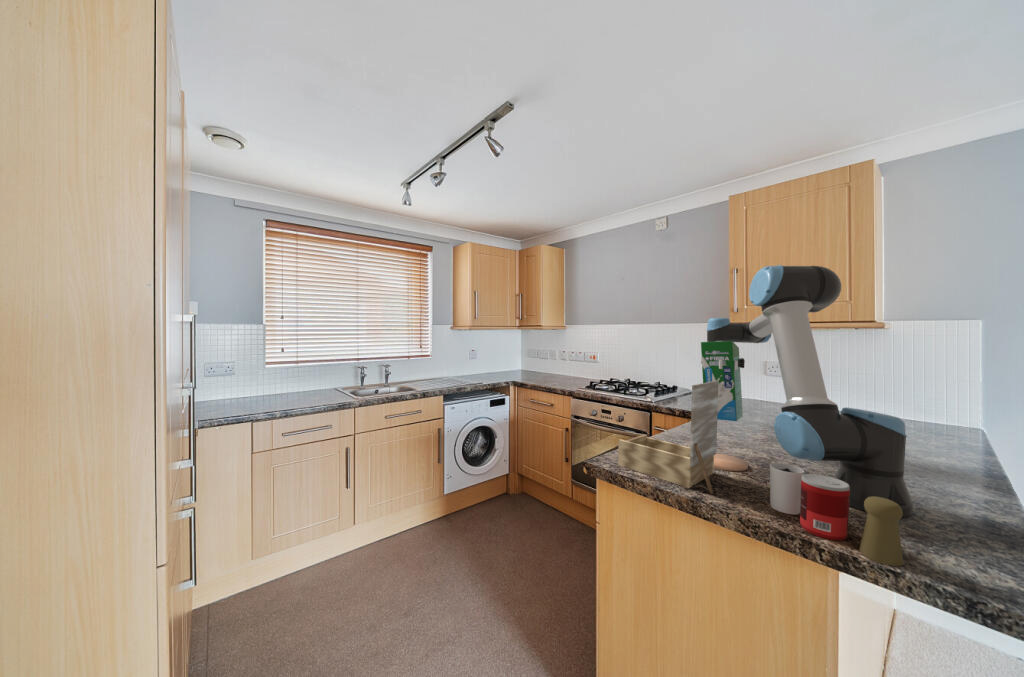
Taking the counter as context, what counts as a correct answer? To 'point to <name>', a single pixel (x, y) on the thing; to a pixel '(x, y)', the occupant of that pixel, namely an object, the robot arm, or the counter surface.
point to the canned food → (824, 506)
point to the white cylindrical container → (785, 487)
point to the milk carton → (723, 377)
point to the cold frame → (676, 459)
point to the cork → (882, 531)
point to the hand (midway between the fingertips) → (728, 364)
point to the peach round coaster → (729, 463)
